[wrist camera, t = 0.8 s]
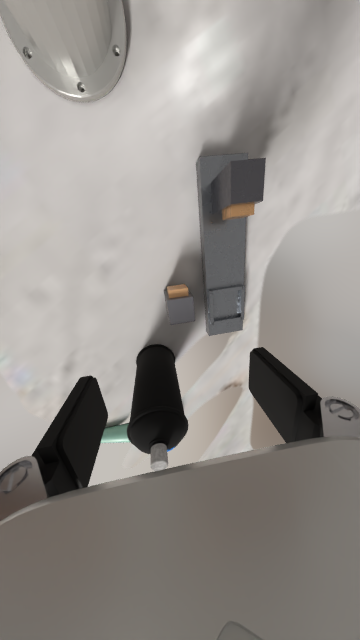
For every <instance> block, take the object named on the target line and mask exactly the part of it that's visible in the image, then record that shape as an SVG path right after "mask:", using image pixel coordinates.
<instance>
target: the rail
mask: <svg viewBox="0 0 360 640" xmlns="http://www.w3.org/2000/svg"><path fill="white" fill-rule="evenodd" d="M265 159H266V158H260V159H248V153H240V154H227V155H215V156H203V157H199V159H198V160H197V162H196V170H197V186H198V203H199V219H200V236H201V252H202V268H203V285H204V301H205V318H206V332H207V333H208V335H209V336H211V335H217V334H222V333H228V332H234V331H240V330H242V328H243V320H244V298H245V286H244V264H245V232H246V217H247V216H250V215H254V204H257V203H259V202H262V201H263V191H264V175H265Z"/></svg>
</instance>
